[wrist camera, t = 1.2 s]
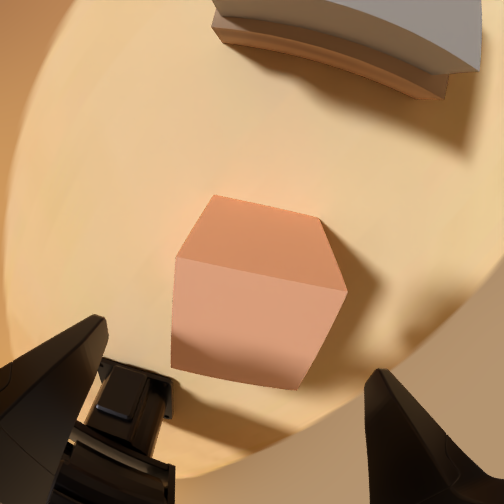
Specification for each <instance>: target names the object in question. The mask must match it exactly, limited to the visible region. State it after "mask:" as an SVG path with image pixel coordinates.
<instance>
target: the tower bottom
mask: <svg viewBox="0 0 504 504" xmlns="http://www.w3.org/2000/svg"><path fill="white" fill-rule="evenodd" d="M211 27H212V29H213V30H214V32H215V33H216V34H217V36H218V37H219V39H220V40H221V42H222V43H228V44H236V45H243V46H249V47H255V48H261V49H266V50H271V51H276V52H281V53H285V54H289V55H294V56H298V57H302V58H306V59H309V60H313V61H317V62H320V63H323V64H327V65H330V66H333V67H336V68H339V69H343V70H346V71H348V72H351V73H354V74H357V75H360V76H362V77H365V78H368V79H370V80H373V81H375V82H378V83H380V84H383V85H385V86H388V87H390V88H392V89H394V90H397V91H399V92H401V93H403V94H405V95H408V96H410V97H412V98H414V99H435V100H444V99H445V94H446V89H447V84H448V78H449V74H440V75H431V74H429V73H427V72H425V71H423V70H421V69H419V68H417V67H415V66H412V65H410V64H408V63H406V62H404V61H401V60H399V59H397V58H394V57H392V56H390V55H387V54H385V53H382V52H380V51H377V50H374V49H372V48H369V47H366V46H363V45H360V44H358V43H355V42H351V41H348V40H345V39H342V38H339V37H335V36H332V35H328V34H324V33H321V32H317V31H313V30H309V29H304V28H300V27H295V26H290V25H285V24H280V23H274V22H268V21H261V20H254V19H245V18H236V17H224V16H220V14H219V12H218V10H217V8H216V11H215V15H214V18H213V22H212V26H211Z"/></svg>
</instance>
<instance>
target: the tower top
mask: <svg viewBox="0 0 504 504" xmlns="http://www.w3.org/2000/svg"><path fill="white" fill-rule="evenodd" d="M212 1H213V3H214V5H215V7H216V8H217V10H218V12H219V14H220V16H224V17H236V18H245V19H254V20H261V21H268V22H274V23H280V24H285V25H290V26H295V27H300V28H304V29H309V30H313V31H317V32H321V33H324V34H328V35H332V36H335V37H339V38H342V39H345V40H348V41H351V42H355V43H358V44H360V45H363V46H366V47H369V48H372V49H374V50H377V51H380V52H382V53H385V54H387V55H390V56H392V57H394V58H397V59H399V60H401V61H404V62H406V63H408V64H410V65H412V66H415V67H417V68H419V69H421V70H423V71H425V72H427V73H429V74H431V75H440V74H451V73H463V72H479V71H480V60H481V43H482V8H481V0H212Z"/></svg>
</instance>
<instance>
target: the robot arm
mask: <svg viewBox="0 0 504 504" xmlns="http://www.w3.org/2000/svg"><path fill="white" fill-rule="evenodd" d="M108 338H109V334H108V328H107V322H106V319H105V318H104V317H102V316H99V315H96V314H93V315H91V316H89V317H87V318H86V319H84V320H82V321H80V322H79V323H77V324H75V325H73V326H72V327H70V328H68V329H66V330H65V331H63V332H61V333H60V334H58V335H56V336H54V337H53V338H51V339H49V340H47V341H46V342H44V343H42V344H41V345H39V346H37V347H35V348H34V349H32V350H30V351H29V352H27V353H25V354H24V355H22V356H20V357H19V358H17V359H15V360H14V361H13V362H10V363H8V364H7V365H5V366H4V367H2V368H0V504H175V466H174V465H171V464H166V463H163V462H161V461H158V460H155V459H153V458H152V456H153V452H154V449H155V445H156V441H157V438H158V434H159V431H160V427H161V424H162V420H163V418H165V419H172V417H173V382H172V381H171V380H170V379H168V378H166V377H162V376H158V375H155V374H151V373H148V372H144V371H141V370H137V369H134V368H131V367H128V366H125V365H122V364H119V363H116V362H113V361H110V360H107V359H104V358H102V356H103V353H104V351H105V348H106V345H107V342H108ZM97 371H98V373H99V376H100V380H101V383H102V385H101V387H100V389H99V391H98V393H97V396H96V398H95V400H94V402H93V404H92V406H91V409H90V411H89V413H88V415H87V417H86V420H85V422H84V424H82V423H81V422H79V421H77V417H78V415H79V413H80V410H81V408H82V406H83V404H84V401H85V399H86V397H87V395H88V392H89V390H90V388H91V386H92V384H93V381H94V379H95V376H96V374H97ZM364 399H365V400H364V403H365V434H366V445H367V456H368V471H369V491H370V504H504V479H498V478H494V477H491V476H489V475H487V474H486V473H485V472H484V471H483V470H482V469H481V468H480V467H478V465H476V464H475V463H474V462H473V461H472V460H471V459H470V458H469V457H468V456H467V455H466V454H465V453H464V452H463V451H462V450H461V449H460V448H459V447H458V446H457V445H456V444H455V443H454V442H453V441H452V439H451V438H450V437H449V436H448V435H446V433H445V432H444V430H443V429H442V428H441V427H440V426H439V425H438V424H437V423H436V422H435V420H434V419H433V418H432V417H431V416H430V415H429V414H428V413H427V411H426V410H425V409H424V408H423V407H422V406H421V405H420V404H419V403H418V402H417V400H416V399H415V398H414V397H413V396H412V395H411V394H410V393H409V392H408V391H407V389H406V388H405V387H404V386H403V385H402V384H401V383H400V382H399V381H398V380H397V379H396V378H395V376H394V375H393V374H392V373H391V372H390V371H389V370H388V369H382V368H378V369H376V370H375V371H374V372H373V374H372V375H371V376H370V378H369V379H368V380H367V382H366V383H365V387H364ZM68 439H71V440H72V441H74V442H75V443H74V445H73V444H71V443H69V442H68Z"/></svg>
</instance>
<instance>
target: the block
mask: <svg viewBox="0 0 504 504" xmlns="http://www.w3.org/2000/svg"><path fill="white" fill-rule="evenodd" d="M347 293H348V290H347V288H346V285H345V282H344V280H343V277H342V274H341V272H340V269H339V267H338V264H337V261H336V259H335V256H334V254H333V251H332V249H331V247H330V244H329V242H328V239H327V237H326V234H325V232H324V230H323V227H322V225H321V222H320V220H319V218H317V217H313V216H309V215H304V214H300V213H296V212H292V211H287V210H283V209H279V208H274V207H270V206H265V205H261V204H256V203H251V202H247V201H242V200H237V199H232V198H228V197H223V196H218V195H213V197H212V198H211V200H210V201H209V203H208V205H207V206H206V208H205V209H204V211H203V213H202V214H201V216H200V217H199V219H198V221H197V222H196V224H195V225H194V227H193V229H192V230H191V232H190V234H189V235H188V237H187V239H186V240H185V242H184V244H183V245H182V247H181V249H180V250H179V252H178V254H177V256H176V262H175V275H174V290H173V308H172V332H171V368H174V369H178V370H183V371H187V372H191V373H195V374H200V375H204V376H209V377H214V378H219V379H224V380H229V381H235V382H240V383H246V384H252V385H259V386H265V387H273V388H280V389H288V390H297V389H298V388H299V386H300V384H301V382H302V381H303V379H304V377H305V375H306V374H307V372H308V370H309V368H310V366H311V365H312V363H313V361H314V359H315V357H316V355H317V354H318V352H319V350H320V348H321V346H322V344H323V342H324V340H325V338H326V336H327V335H328V333H329V331H330V329H331V327H332V325H333V323H334V321H335V318H336V316H337V314H338V312H339V310H340V308H341V306H342V304H343V302H344V300H345V297H346V295H347Z"/></svg>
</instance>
